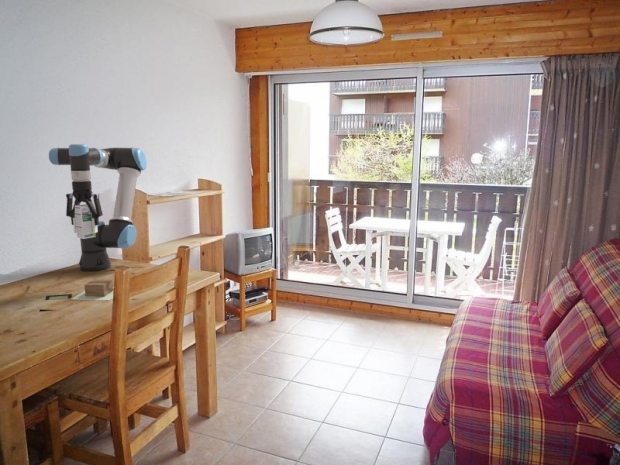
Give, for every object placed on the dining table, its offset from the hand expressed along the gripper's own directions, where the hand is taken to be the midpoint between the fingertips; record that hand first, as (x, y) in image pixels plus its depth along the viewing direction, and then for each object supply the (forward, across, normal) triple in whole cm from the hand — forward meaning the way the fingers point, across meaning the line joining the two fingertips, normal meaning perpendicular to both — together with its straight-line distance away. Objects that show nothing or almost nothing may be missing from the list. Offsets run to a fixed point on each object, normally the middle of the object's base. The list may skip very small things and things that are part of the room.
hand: (86, 232), depth 211 cm
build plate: (+24, +12, -15) cm, 31 cm away
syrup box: (+3, 0, 0) cm, 3 cm away
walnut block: (+23, +12, -15) cm, 30 cm away
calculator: (+25, 0, -27) cm, 36 cm away
